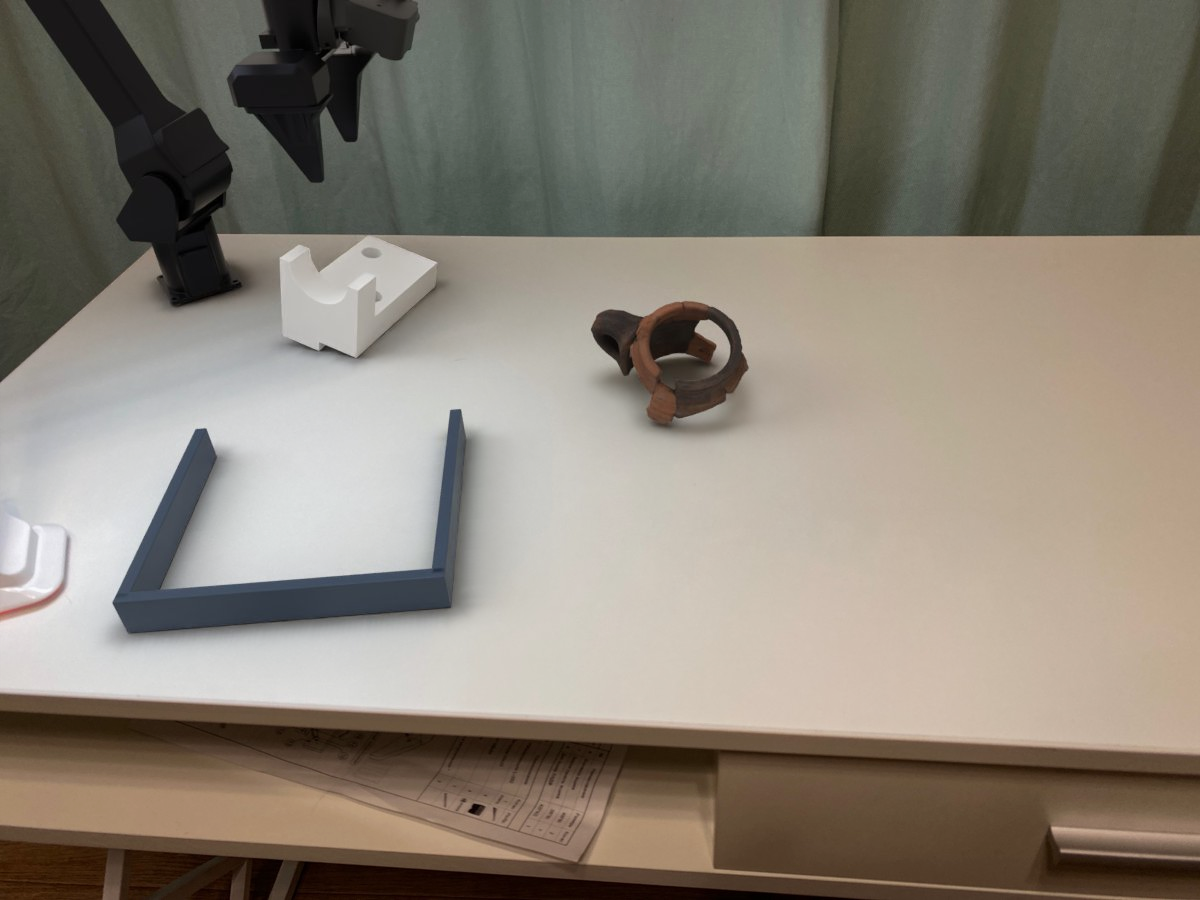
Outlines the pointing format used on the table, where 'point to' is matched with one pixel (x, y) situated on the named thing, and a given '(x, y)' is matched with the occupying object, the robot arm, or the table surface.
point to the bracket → (351, 294)
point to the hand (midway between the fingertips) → (335, 160)
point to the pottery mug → (666, 335)
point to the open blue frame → (283, 598)
